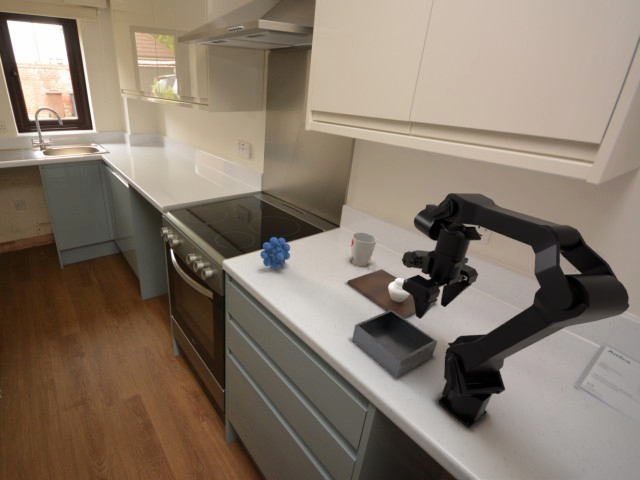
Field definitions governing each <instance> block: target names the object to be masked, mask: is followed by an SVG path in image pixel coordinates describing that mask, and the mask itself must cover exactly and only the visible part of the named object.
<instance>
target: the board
mask: <svg viewBox="0 0 640 480" xmlns="http://www.w3.org/2000/svg"><path fill="white" fill-rule="evenodd" d="M397 278H398V277H396V276H395V275H393V274H391V273H390V272H388V271H386V270H384V269H382V268H381V269H379V270H375V271H372V272H369V273H366V274H364V275H360V276H357V277H354V278H351V279H348V280H347V285H349V286H350V287H351V288H353V289H354V290H356V291H357V292H358V293H360V294H361V295H363V296H364V297H366V298H367V299H369V300H370V301H371V302H373V303H375V304H376V305H378V306H379V308H381V309H383V310H384V311H385V312H387V311H389V310H393V311H394V312H396V313H397V314H398V315H400V316H401V317H403V318H404V319H406V318H408V317H410V316H412V315H414V314H416V312H415V304H414V299H413V296H412V295H411V294H410V295H409V296H408V297H407V298H406V299H405V300H403V301H402V302H396V301H394V300H392V299H391V296H390V293H389V289H388V286H389V284H390V283H391V282H394V281H395V279H397Z"/></svg>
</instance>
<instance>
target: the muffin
mask: <svg viewBox="0 0 640 480" xmlns="http://www.w3.org/2000/svg"><path fill="white" fill-rule="evenodd" d="M396 278H397V279H395V281H394V282H391V283H390V284H389V286H388V289H389V293H390V296H391V299H392V300H394V301H396V302H402V301H403V300H405V299H406V298H407V297H408V296H409V295H410V294H409V293H408V292H406V291H405V290H403V289H402V285H403V281H404V280H405V279H406V278H403V277H396Z"/></svg>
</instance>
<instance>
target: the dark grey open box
mask: <svg viewBox="0 0 640 480" xmlns="http://www.w3.org/2000/svg"><path fill="white" fill-rule="evenodd" d="M351 339H352V340H351V341H352V342H353V343H355V344H356V345H357V346H358V347H359V348H361V350H362V351H364V352H365V353H366V354H368V356H370V357H371V358H372V359H373V360H374V361H375V362H376V363H378V364H379V365H380V366H381V367H382V368H384V369H385V370H386V371H387V372H388V373H389V374H391V375H392V376H393V377H394V378H395V379H397V378H399V377H401V376H402V375H405V373H407V372H409V371H411V370H413V369H414V368H416V367H418V366H420V365H421V364H423V363H424V362H426V361H428V360H429V359H431V358H433V356H434V354H435V351H436V349H437V348H436V347H437V344H438V340H437V339H435V338H434V337H432V336H431V335H429V334H428V333H426V332H425V331H423V330H422V329H421V328H419V327H418V326H416V325H414V323H412V322H410V321H409V320H407V319H406V318H403V317H401V316H400V315H398V314H397V313H396V312H394V311H393V310H389V311H384V312H381V313H379V314H377V315H375V316H373V317H370V318H368V319H366V320H363V321H361V322H358V323H357V324H354V328H353V334H352V338H351Z"/></svg>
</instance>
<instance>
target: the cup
mask: <svg viewBox="0 0 640 480" xmlns="http://www.w3.org/2000/svg"><path fill="white" fill-rule="evenodd" d="M377 241H378V239H377V237H376V236H374V235H373V234H370V233H366V232H354V233H353V234H352V237H351V244H350V247H351V248H350V256H351V262H352V264H354V265H355V266H357V267H365V266H367V264H368V263H369V261H370V260H371V258H372V256H373V253H374V251H375V247H376V244H377Z"/></svg>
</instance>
